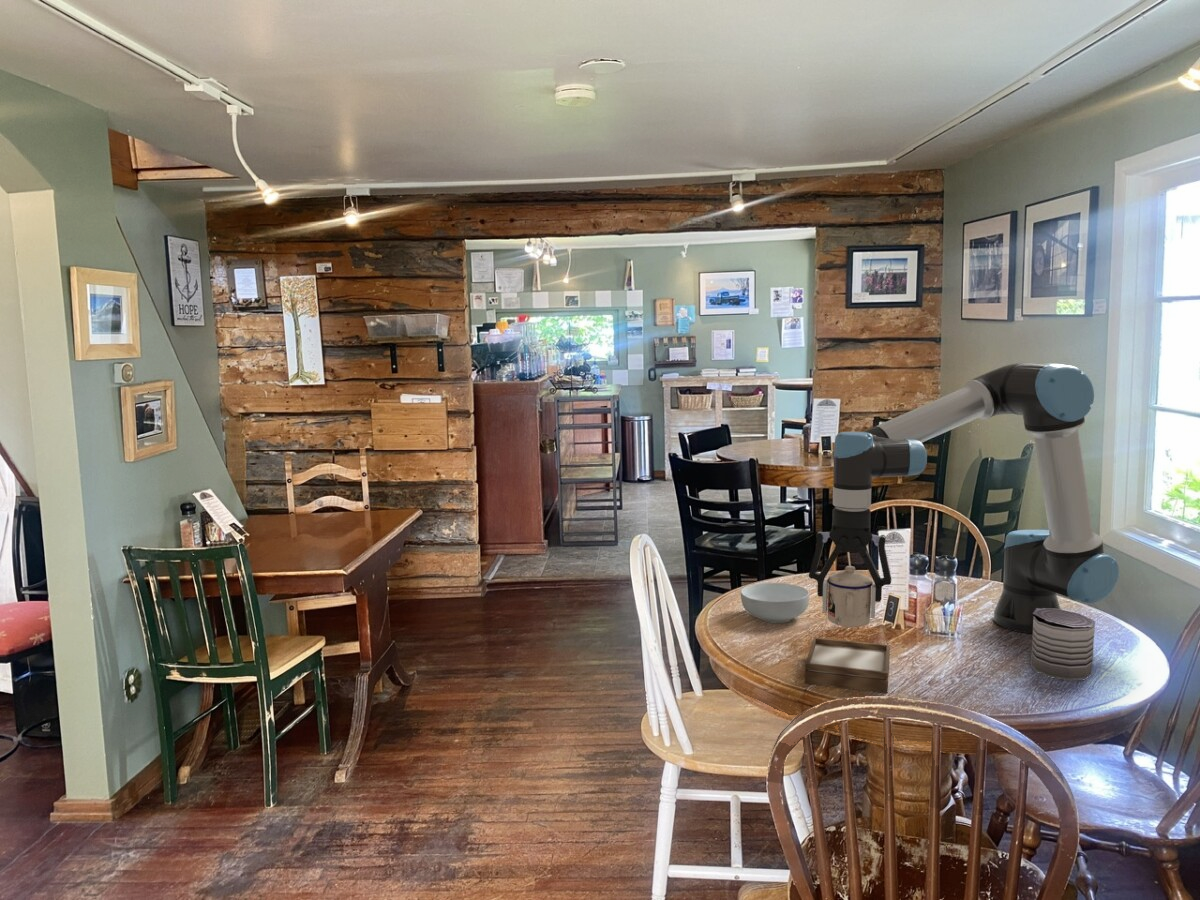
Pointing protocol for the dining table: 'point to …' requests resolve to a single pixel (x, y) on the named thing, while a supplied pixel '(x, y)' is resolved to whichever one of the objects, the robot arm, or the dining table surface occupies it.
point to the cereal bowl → (775, 601)
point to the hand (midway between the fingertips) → (848, 613)
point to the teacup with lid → (849, 598)
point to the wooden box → (848, 665)
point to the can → (1062, 644)
